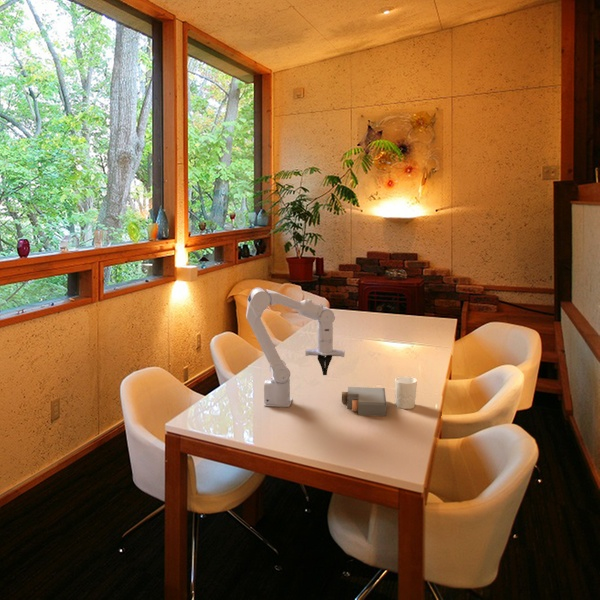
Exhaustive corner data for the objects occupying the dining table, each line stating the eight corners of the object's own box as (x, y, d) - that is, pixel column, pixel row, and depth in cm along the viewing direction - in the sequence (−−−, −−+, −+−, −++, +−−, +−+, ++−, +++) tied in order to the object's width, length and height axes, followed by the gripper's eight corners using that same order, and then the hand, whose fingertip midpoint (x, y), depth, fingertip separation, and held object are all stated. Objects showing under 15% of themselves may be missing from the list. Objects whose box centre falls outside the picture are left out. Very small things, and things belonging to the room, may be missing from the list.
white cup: (400, 411, 185) (401, 384, 183) (390, 402, 193) (391, 377, 191) (420, 408, 187) (421, 382, 185) (409, 400, 195) (410, 375, 193)
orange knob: (352, 412, 184) (352, 402, 183) (352, 408, 187) (352, 398, 187) (383, 413, 182) (383, 403, 182) (383, 409, 186) (383, 399, 185)
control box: (346, 414, 183) (346, 401, 182) (348, 399, 197) (348, 386, 196) (385, 416, 181) (386, 402, 180) (384, 400, 195) (384, 388, 194)
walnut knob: (341, 403, 192) (341, 393, 191) (342, 399, 196) (342, 390, 195) (371, 404, 191) (371, 394, 190) (371, 400, 194) (371, 391, 194)
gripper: (304, 341, 190) (304, 377, 192) (344, 342, 188) (343, 378, 190) (306, 336, 196) (306, 371, 199) (345, 337, 195) (344, 372, 197)
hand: (324, 374), depth 195 cm, fingers closed
